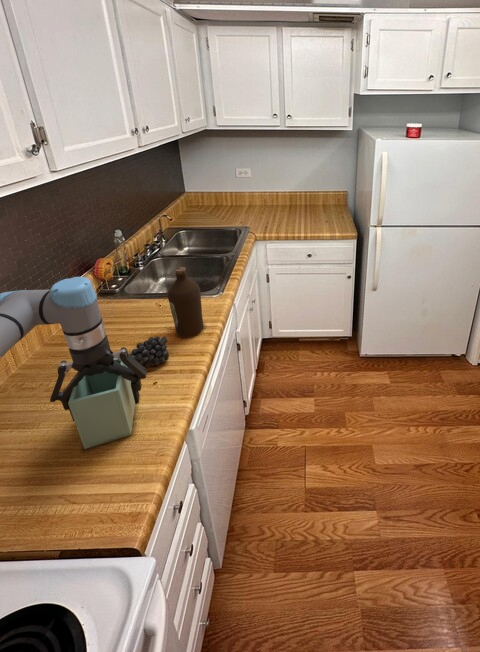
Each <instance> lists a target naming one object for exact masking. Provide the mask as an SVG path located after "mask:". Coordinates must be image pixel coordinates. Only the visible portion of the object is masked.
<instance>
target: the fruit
mask: <svg viewBox="0 0 480 652" xmlns="http://www.w3.org/2000/svg"><path fill="white" fill-rule="evenodd" d="M167 343H168V338H167V336H166V335H164V336H161V337H160V336H159V335H158V336H154V337H153V336H149V337H148V339H147V340H144V341H143V342H138V343H137V344H136V346H135V347H136V348H133V349H132V350H131V352H130V353H129V354H130V355H131V356H132V357H133V358H134V359H135V360H136V361H138V362H139V363H140V364H141V365H142V366H143V367H144V368H145V367H146V368H148V367H150V366H155V365H156V366H158V365H160V363H164V361H165V362H166V361H168V360H169V358H170V353H169V351H168V348H171V345H167Z"/></svg>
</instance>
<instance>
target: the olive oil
mask: <svg viewBox="0 0 480 652" xmlns="http://www.w3.org/2000/svg"><path fill="white" fill-rule="evenodd" d="M175 277H176V279H175V280H174V282H172V284H171V285H170V286H169V288H168V291H167V299H168V300H167V301H168V304H169V309H170V311H171V315H172V320H173V324H174V329H175V333H176V335H177V336H178V337H180V338H191V337H195V336H197V335H199V334H200V333H202V331H203V329H204V320H203V307H202V296H201V294H202V293H201V288H200V286H199V285H198V284H199V283H197V282H196V281H195V280H193V279H191V278H189V277H188V273H187V271H186V267H185V266H179V267H176V268H175Z"/></svg>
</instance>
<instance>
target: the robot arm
mask: <svg viewBox="0 0 480 652" xmlns="http://www.w3.org/2000/svg"><path fill="white" fill-rule="evenodd" d="M57 324H59V325H60V327H61V330H62V332H63V336H64V339H65V342H66V345H67V347H68V351H69V355H70V357H71V358H70V359H71V360H72V361H70V362H69V361H66V360H61V361H60V363H59V365H58V367H57V370H56V371H57V379H56V382H55V385H54V386H53V387H54V388H53V390H52V392H51V395H50V398H49V402H50V403H55V402H56V401H59V402H61V404H62V407H63V410H64V411H68V410H69V411H68V412H69V414H70V416H71V419H72V422H75V421H74V418H73V416H72V413H71V410H70V407H69V404H68V402H69V399H70V396H71V394H72V391H73V388H74V387H76V386H77V384H78V383H79V382H80V381H81V380H82V379H83V377H84V376H85V375H89V376H92V375H95V374H101V373H104V371H106V372H108V373H110V374H111V373H114V374H116V375H118V376H120V375H122V377H123V378H125V379H127V380H129V381H131V389H132V393H133V397H134V400H135V405H138V404H139V403H140V391H141V390H142V386H143V384H142V381H141V380H145V379H146V378H147V371H148V369H147V367H146V368H145V366H144V367H143V366H142V365H141V364H140V363H139V362H138V361H136V360H135V359H134V358H133V357H132V356H131V355H130V353H129V352H128V349H127V347H125V346H122V347H121V348H120V350H117V351H112V350H111V346H110V342H109V339H108V335H107V331H106V327H105V323H104V321H103V317H102V314H101V310H100V306H99V302H98V295H97V292H96V291H95V288H94V285H93V283H92V281H91V280H90V279H89V278H87V277H85V276H73V277H71V278H64V279H61V280H59V281H57V282H55V283H54V284H52V286H51V287H50V289H19V290H13V291H11V290H10V291H4V292H1V293H0V359H2V357H4V356H5V355H6V354H7V353H8V352H9V351H10V350H11V349H13V347H14V346H15V345H17V343H19V342H20V341H21V340H22V339H24V338H25V337H26V336H27V335H28V334H29V333H30V332H31V331H32V330H34V328H36V327H37V326H46V325H57ZM114 358H117V359H119V361H122V362H123V363H124V364H125V365H126V366H127V367H126V366H124V365H121V364H119V363H117V361H116V360H114ZM110 365H111V366H110ZM71 369H73V370H74V371H77V372H76V373H75V375H74V376H73V377H72V378H71V380H70V381H69V382H68V384H67V385H66V387H65V388H63V390H62V389H61V388H62V386H63V383H64V381H65V378H66V375H67V374H68V373H69V372H70V370H71ZM61 390H62V391H61Z"/></svg>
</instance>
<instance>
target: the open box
mask: <svg viewBox="0 0 480 652" xmlns="http://www.w3.org/2000/svg"><path fill="white" fill-rule="evenodd" d="M114 360H116V361H117V363H119V364H121V365H124V366H126V365H125V364H124V363H123V362H122V361H119V359H117V358H114ZM110 366H111V365H110ZM126 367H127V366H126ZM68 404H69V407H70V410H71V413H72V416H73V418H74V421H73V422H74V424H75V427H76V429H77V432H78V434H79V437H80V440H81V444H82V446H83V449H84V450H87V449H90V448H93V447H96V446H100V445H103V444H106V443H110V442H112V441H113V442H114V441H116V440H120V439H122V438H126V437H129V436H132V432H133V431H132V430H133V423H134V415H135V408H136V404H135V400H134V397H133V393H132V389H131V381H129V380H127V379H125V378H123V377H122V375H120V376H118V375H116V374H114V373H111V374H110V373H108V372H106V371H104V373H101V374H95V375H92V376H89V375H85V376H84V377H83V379H82V380H81V381H80V382H79V383H78V384H77V386H76V387H74V388H73V391H72V394H71V396H70V399H69V402H68ZM72 416H71V417H72Z"/></svg>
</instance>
